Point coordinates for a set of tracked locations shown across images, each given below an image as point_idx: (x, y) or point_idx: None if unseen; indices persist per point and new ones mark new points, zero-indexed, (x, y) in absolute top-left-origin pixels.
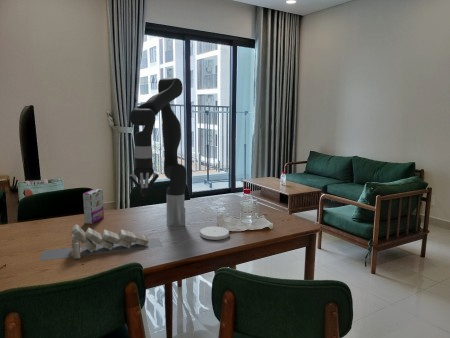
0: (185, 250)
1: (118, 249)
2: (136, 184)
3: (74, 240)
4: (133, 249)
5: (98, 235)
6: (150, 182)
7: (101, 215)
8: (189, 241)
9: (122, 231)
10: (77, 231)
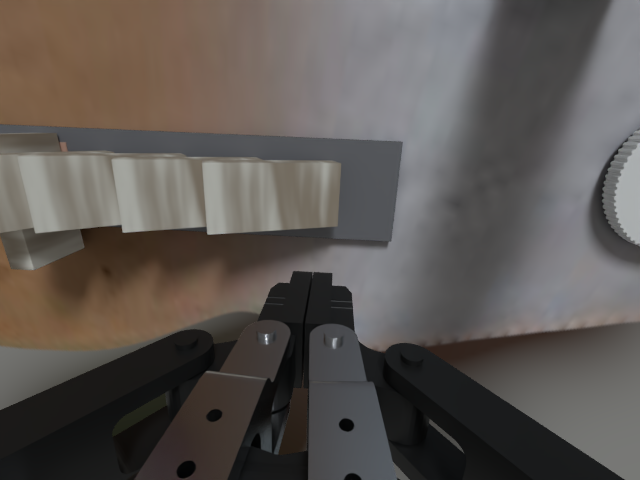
0: (463, 286)
1: None
2: (157, 439)
3: None
4: (272, 233)
5: (99, 200)
6: (408, 464)
7: None
8: (523, 206)
9: (210, 193)
10: None
